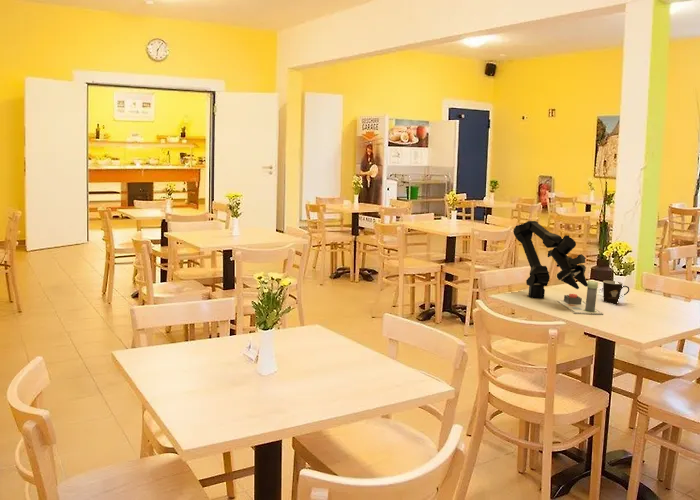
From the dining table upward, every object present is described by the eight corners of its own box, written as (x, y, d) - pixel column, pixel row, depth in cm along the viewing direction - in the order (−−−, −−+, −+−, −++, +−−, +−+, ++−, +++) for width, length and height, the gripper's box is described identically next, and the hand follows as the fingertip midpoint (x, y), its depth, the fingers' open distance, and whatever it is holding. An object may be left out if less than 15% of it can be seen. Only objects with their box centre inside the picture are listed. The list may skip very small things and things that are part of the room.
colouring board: (574, 314, 312) (574, 312, 311) (556, 302, 334) (556, 300, 334) (603, 315, 313) (603, 313, 312) (582, 303, 335) (583, 301, 335)
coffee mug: (599, 303, 336) (601, 282, 335) (602, 300, 344) (604, 279, 342) (625, 307, 331) (628, 286, 329) (628, 303, 338) (630, 283, 337)
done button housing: (568, 304, 328) (569, 297, 328) (563, 301, 334) (564, 295, 333) (581, 304, 328) (581, 298, 328) (576, 301, 334) (576, 295, 334)
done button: (570, 299, 329) (570, 295, 329) (567, 297, 332) (568, 293, 332) (578, 299, 329) (578, 295, 329) (575, 298, 333) (575, 293, 332)
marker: (587, 311, 314) (590, 282, 312) (583, 309, 318) (586, 280, 316) (596, 312, 314) (599, 283, 312) (592, 309, 318) (595, 281, 316)
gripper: (566, 250, 311) (587, 279, 306) (584, 247, 325) (605, 274, 320) (547, 265, 318) (568, 294, 312) (566, 261, 332) (586, 288, 326)
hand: (582, 287), depth 318 cm, fingers open, 9 cm apart
